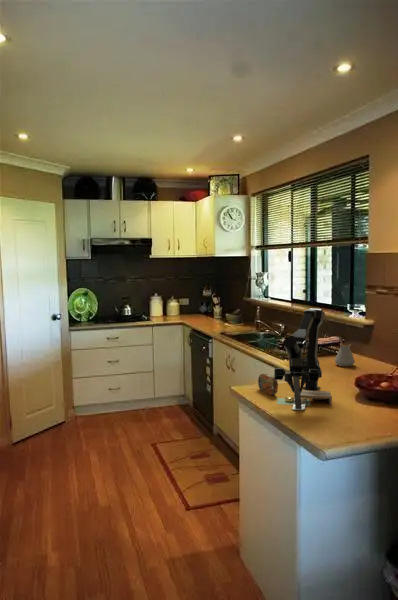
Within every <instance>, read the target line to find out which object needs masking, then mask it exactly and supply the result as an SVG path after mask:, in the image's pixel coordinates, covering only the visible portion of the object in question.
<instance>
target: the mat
mask: <svg viewBox="0 0 398 600" xmlns="http://www.w3.org/2000/svg"><path fill="white" fill-rule="evenodd" d="M306 399H307V402H306V406H309V407H311V406H312V405H311V401H310V398H306ZM276 404H277V405H285V406H286V405H287V406H293V405H294V402H293V403H289V402H285V397H276Z"/></svg>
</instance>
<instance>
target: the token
mask: <svg viewBox="0 0 398 600" xmlns="http://www.w3.org/2000/svg"><path fill="white" fill-rule="evenodd" d="M284 398H285V402H289V403H293V402H294V398H295V397H294V396H291V395H290V396H287V395H286V396H285V397H284Z"/></svg>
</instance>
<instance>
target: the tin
mask: <svg viewBox="0 0 398 600" xmlns="http://www.w3.org/2000/svg"><path fill="white" fill-rule="evenodd" d="M257 384H258V388H259V390H260V391H261V392H263V393H265V394H267V395H268V396H274V395H276V394H277V393H278V389H279V382H278V380H275V379H274V376H271V375H269V374H267V373H260V374H259V376H258V379H257Z"/></svg>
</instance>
